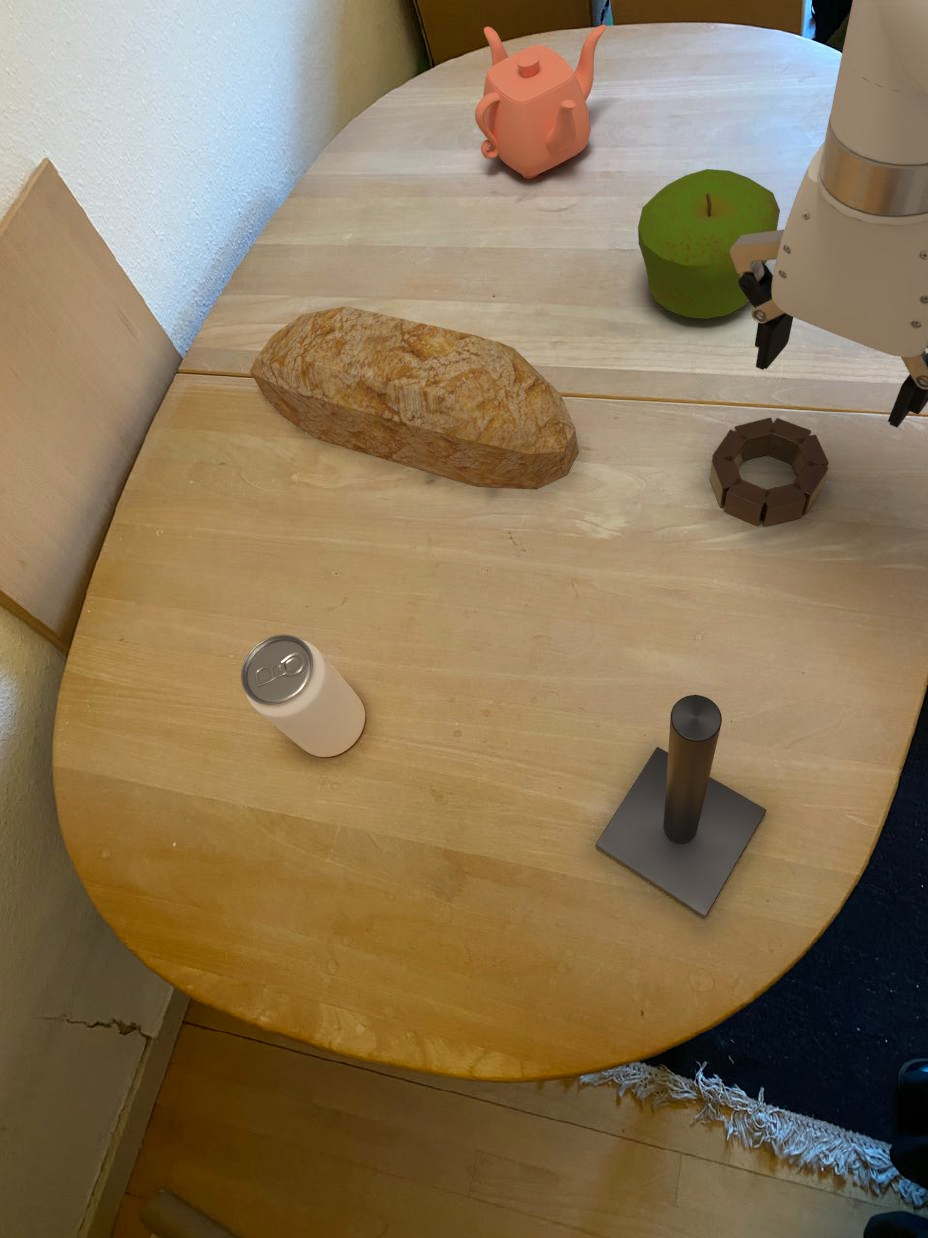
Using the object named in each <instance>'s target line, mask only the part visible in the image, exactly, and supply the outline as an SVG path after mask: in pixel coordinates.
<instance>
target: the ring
mask: <svg viewBox="0 0 928 1238" xmlns="http://www.w3.org/2000/svg"><path fill="white" fill-rule="evenodd" d="M811 434H812V430H811V429H808V428H806V427H803V426H800V425H797V424H795V423H792V422H789V421H787V420H784V419H781V418H779V417H776V418H775V419H774V421H773V419H772V418H771V417H766V418H763V419H759V420H755V421H751V422H746V423H742V424H739V425H735V426H734V429H730V430H729V431H728V432H727V433H726V435H725V436H724V437H723V439H722V441H721V442H720V444H719V445H718V447H717V449H716V450H714V452H713V454H712V456H711V457H712V459H711V465H710V473H709V474H710V476H709V482H710V485H711V487H712V490H713V493H714V495H715V498H716V501H717V503H718V506H719V508H720V509H722V508H724V513H725V514H728V515H731V516H733V517H736V518H737V519H740V520H742V521H744V522H747V523H749V524H751V525H754V526H756V527H758V526H759V525H760V524H761V523H762V526H763V527H768V526H774V525H776V524H782V523H786V522H789V521H794V520H799V519H801V518H802V515H807V513H808V512H809V510H810V508H811V507H812V505H813V504H814V502H815V501H816V499H817V498H818V497H819V494H820V493H821V492H822V490H823V487H824V484H825V481H826V478H827V476H828V475H827V474H828V472H829V465H830V462H829V460H828V458H827V455H826V453H825V451H824V449H823V447H822V445H821V443H820V441H819V439H818V436H817V434H812V435H811ZM767 455H768V456H771V457H773V458H776V459H778V460H781V461H784V462H786V463H789V464H791V465H792V467H793V470H794V472H795V475H796V478H795V480H794V482H793V483H789V484H785V485H780V486H776V487H772V488H769V489H768V488H767V489H766V488H764V487H761V486H759V485H757V484H753V483H751V482H749V481H746V480H744V479H743V478H742V476H741V474H740V471H739V468H740V466H741V465H742V463H743V462H744V461H747V460H752V459H756V458H761V457H764V456H767Z"/></svg>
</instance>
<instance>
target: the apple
mask: <svg viewBox="0 0 928 1238" xmlns="http://www.w3.org/2000/svg"><path fill="white" fill-rule="evenodd" d="M780 212H781V209H780V207H779V204H778V202H777V200H776V197H775V194H774V192H772V191H771V190H769V189H767V188H766V187H765V186H763V185H761V184H760V183H758V182H757V181H754V180H753V179H751V178H750V177H748V176H745V175H743V174H739V173H737V172H734V171H732V170H728V169H727V170H725V169H711V168H706V169H703V170H699V171H696V172H692V173H688V174H685V175H683V176H682V177H680V178H678V179H676V180H674V181H672V182H670V183H668V184H666V185H665V186H664V187H663V188H662V189H660V190H659V191H658V192H657V193H656V194H655V195H654V196H653V197H652V198H651V199H650V200H649V201H647V203H646V204H645V205H644V206H642V208H641V212H640V217H639V221H638V226H637V231H638V233H637V234H638V245H639V248H640V249H639V250H640V252H641V256H642V259H643V261H644V262H643V263H644V265H645V270H646V271H645V272H646V276H647V284H648V288H649V291H650V293H651V295H652V297H653V298H654V301H655V302H656V303H657V304H659V305H660V306H662V307H664V308H665V309H666V310H667V311H669V312H672V313H675V314H676V315H679V316H682V317H685V318H693V319H704V320H705V319H706V320H707V319H713V318H718V317H719V318H720V317H723V316H724V317H725V316H728V315H730V314H732V313H734V312H735V311H737V310H739V309H741V308H743V307H744V306H746V304H747V303H748V302H749V300H748V298H747V297H746V295H745V294H744V293H743V291H742V290H741V288H740V287H739V284H738V282H739V279H740V276H739V273H737V272H736V269H735V267H734V264H733V261H732V259H731V256H730V253H729V250H730V248H731V247H732V246H733V245H734V243H735V242H736V241H737V240H738V239H739V238H740V237H741V236H742V235H745V234H753V233H761V232H769V231H777V230H778V225H779V219H780V214H781V213H780ZM767 261H768V260H764V261H762V262H763V263H764V264H765V265H766V263H767Z"/></svg>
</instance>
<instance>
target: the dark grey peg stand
mask: <svg viewBox="0 0 928 1238" xmlns="http://www.w3.org/2000/svg"><path fill="white" fill-rule="evenodd" d="M669 719H670V720H669V735H668V749H667V751H666V750H665V749H663V748H661V747H659V746H657V747H655V749H654V751H653V752H652V754H651V755H650V757H649V759H648V761H646V764H645V765H644V767H643V768H642V769H641V771H640V773H639V774H638V776H637V778H636V779H635V781H634V783H633V784H632V785H631V787H630V789H629V791H628V792H627V794H626V795H625V797H624V799H623V800H622V802H621V803H620V805H619V806H618V808H617V810H616V811H615V812H614V814H613V815H612V818H611V819H610V821H609V822H608V824H607V825H606V827H605V829H604V830H603V831H602V833H601V835H600V836H599V838H598V839H597V841H596V843H595V848H596V849H597V851H600V852H601V853H602V854H604V855H606V856H607V857H609V858H610V859H612V860H614V862H616V863H618V864H620V865H621V866H623V867H624V868H625V869H627V870H628V871H630V872H632V873H633V874H635V875H636V876H638V877H639V878H641V879H642V880H644V881H646V882H647V883H649V884H650V885H652V886H653V887H654V888H656V889H658V890H659V891H660V892H662V893H663V894H665V895H667V896H668V897H670V898H671V899H673V900H674V901H676V902H677V903H679V904H680V905H682V906H684V907H685V908H686V909H688V910H690V912H693V913H694V914H696V915H698V916H699V917H700V918H701V919H704V920H705V919H706V917H707V916H708V914H709V912H710V911H711V910H712V907H713V906H714V903H715V902H716V900H717V898H718V897H719V896H720V893H721V892H722V890H723V888H724V886H725V884H726V883H727V881H728V879H729V877H730V876H731V874H732V873H733V870H734V869H735V867H736V865H737V864H738V862H739V860H740V858H741V857H742V855H743V853H744V851H745V850H746V848H747V846H748V844H749V842H750V841H751V839H752V838H753V835H754V834H755V832H756V830H757V829H758V828H759V825H760V823H761V821H762V820H763V817H764V816H765V815H766V814H767V811H768V810H767V809H766V808H765V807H763V806H762V805H759V804H758V803H756V802H754V801H752V800H751V799H749V798H748V797H746V796H745V795H743V794H740V793H739V792H737V791H735V790H734V789H732V788H730V787H728V786H727V785H725V784H723V783H721V782H720V781H718V780H717V779H715V778H712V777H711V771H712V767H713V763H714V759H715V754H716V750H717V745H718V741H719V736H720V733H721V728H722V724H723V717H722V713H721V710H720V708H719V707H718V705H717V704H716V703H715V702H714V701H713V700H712V699H710V698H708V697H707V696H704V695H700V694H690V695H686V696H684V697H681V698H680V699H679V700H677V701H676V702H675V703H674V705H673V706H672V708H671V712H670V717H669Z"/></svg>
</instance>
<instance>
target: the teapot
mask: <svg viewBox="0 0 928 1238" xmlns="http://www.w3.org/2000/svg"><path fill="white" fill-rule="evenodd" d="M606 29H607V25H606V24H601V25H599V26H597V27H596V28H594V29H593V30H591V32H589V34H587V36H586V38H585V39H584V42H583V45H582V47H581V50H580V55H579V59H578V63H577V66H576V67H575V70H573V68H572V66H571V65H570V64H569V63H568V62H567V61H566V60H565V58H563V57H562V56H561V55H560V54H558V53H557V52H556V51H554V50H552V49H550V48H549V47H547V46H545V45H542V44H533V45H531V46H529V47H525V48H523V49H521V50H520V51H517V52H515V53H514V54H512V55H510V56H509V55H508V53H507V50H506V49H505V46H504V44H503V42H502V40H501V38H500V35H499V34H498V33H497V31H496V30H495V29H494V28H492V27H490V26H485V27H484V28H483V32H484V33H483V34H484V36H485V38H486V40H487V43H488V45H489V48H490V53H491V63H492V66H491V67H489V68H488V70H486V74H485V79H484V86H483V94H482V95H483V96H482V98H480V100H479V102H478V103H477V105H476V107H475V110H474V118H475V123H476V124H477V126H478V128H479V130H480V132H481V133H482V134H483V135H484V136H485V138H486V139H485V140H484V141H483V142H482V143H481V145H480V152H481V154H482V156H483V158H485V159H488V160H492V159H495V158H497V157H499V158H500V159H501V161H502V162H504V163H505V164H506V165H507V166H508V167H510V168H511V169H512V170H514V171H516V172H517V173H519V174H521V176H522V177H523V179H529V180H530V179H534V178H536V177H538V176H539V175H540V174H541V173H545V172H546V171H548V170H550V169H552V168H555V167H557V166H558V165H560V164H562V163H564V162H566V161H568V160H569V159H572V158H574V157H576V156H577V155H578V154H579V153H581V152H582V151H583V150H584V149H585V148H586V147H587V144H588V142H589V139H590V136H591V131H592V130H591V118H590V114H589V109H588V104H587V100H588V98H589V96H590V94H591V91H592V88H593V84H594V73H595V52H596V47H597V44H598V42H599V40H600V38H601V37H602V35H603V34H604V32H605V31H606ZM489 147H490V148H489ZM488 148H489V149H488Z"/></svg>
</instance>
